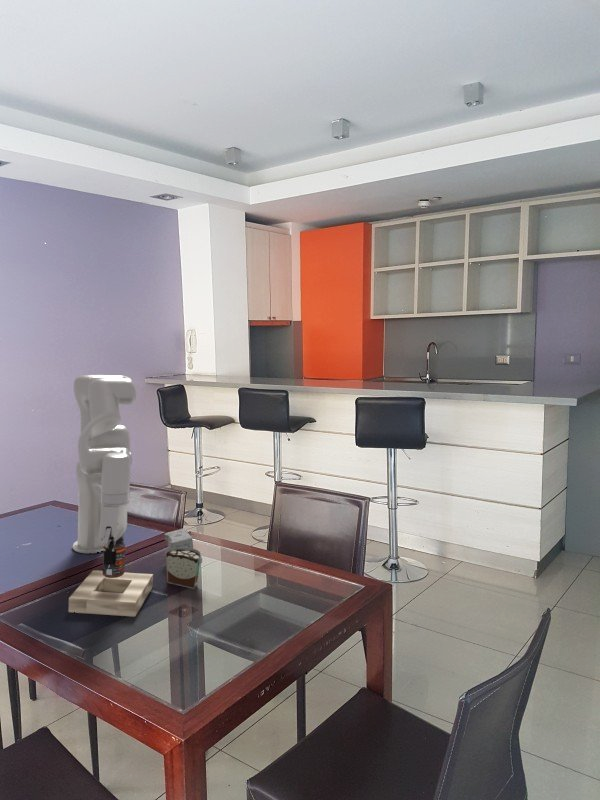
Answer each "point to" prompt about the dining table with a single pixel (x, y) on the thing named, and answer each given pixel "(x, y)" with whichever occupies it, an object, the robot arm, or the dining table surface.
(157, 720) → the dining table surface
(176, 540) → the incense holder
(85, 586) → the socket board
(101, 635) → the dining table surface
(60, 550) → the dining table surface
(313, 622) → the dining table surface
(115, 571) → the supplement bottle
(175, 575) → the food container
